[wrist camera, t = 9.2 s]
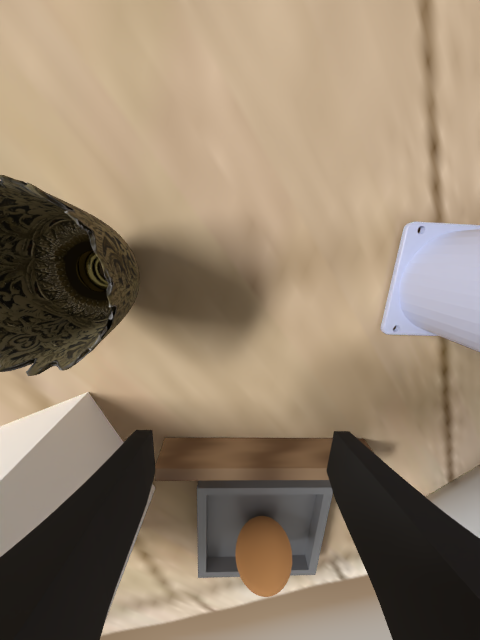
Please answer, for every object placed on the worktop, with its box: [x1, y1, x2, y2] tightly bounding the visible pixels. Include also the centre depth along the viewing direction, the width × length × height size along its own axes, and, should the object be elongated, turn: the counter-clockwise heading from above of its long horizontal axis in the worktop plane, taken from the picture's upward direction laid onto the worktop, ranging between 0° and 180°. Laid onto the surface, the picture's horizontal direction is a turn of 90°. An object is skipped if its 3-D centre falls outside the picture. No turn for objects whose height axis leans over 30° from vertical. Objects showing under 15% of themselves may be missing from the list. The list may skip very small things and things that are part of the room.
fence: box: [155, 438, 374, 481], centre depth 19 cm, size 18×1×3 cm, turn 87°
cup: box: [0, 175, 139, 376], centre depth 12 cm, size 8×7×8 cm
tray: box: [197, 480, 333, 578], centre depth 23 cm, size 12×12×2 cm
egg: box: [235, 516, 292, 597], centre depth 20 cm, size 5×5×5 cm
